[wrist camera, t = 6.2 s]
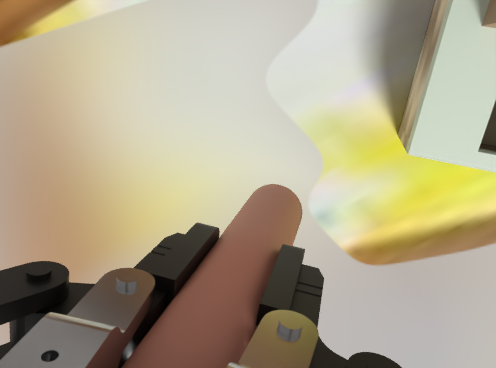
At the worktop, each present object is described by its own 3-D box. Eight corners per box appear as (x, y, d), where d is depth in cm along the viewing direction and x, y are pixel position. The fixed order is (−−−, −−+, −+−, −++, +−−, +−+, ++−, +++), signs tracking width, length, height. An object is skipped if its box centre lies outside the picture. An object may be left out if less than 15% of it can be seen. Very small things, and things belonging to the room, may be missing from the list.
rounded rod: (251, 179, 18) (81, 377, 7) (306, 190, 18) (222, 418, 6) (244, 230, 19) (82, 483, 8) (297, 241, 18) (207, 528, 7)
